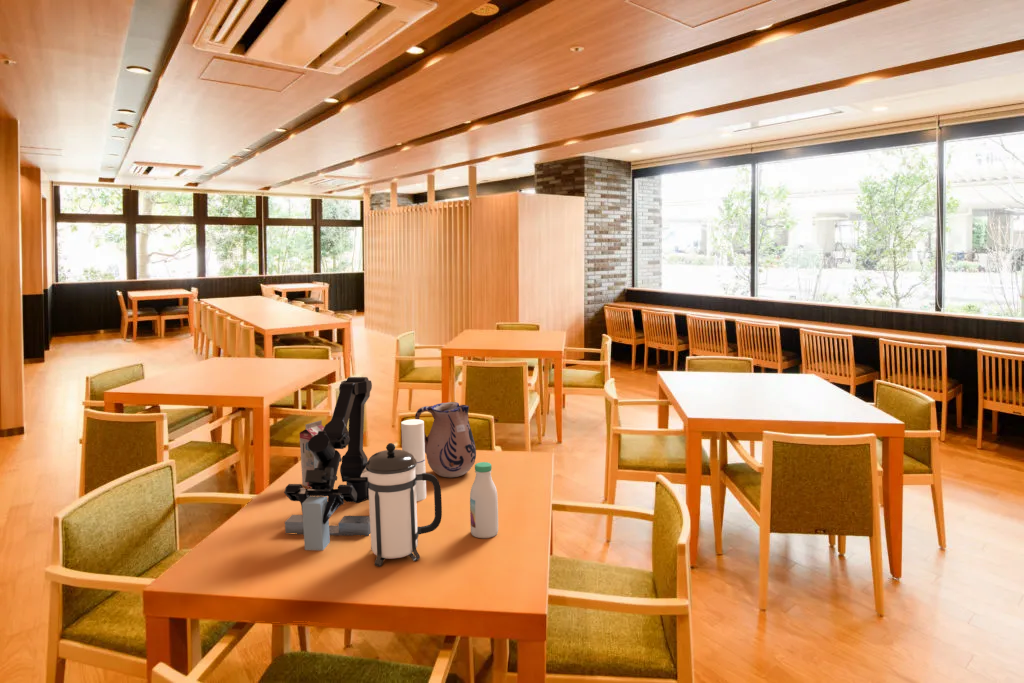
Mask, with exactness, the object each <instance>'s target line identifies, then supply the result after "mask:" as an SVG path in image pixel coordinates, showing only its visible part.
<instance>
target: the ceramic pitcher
mask: <svg viewBox="0 0 1024 683" xmlns="http://www.w3.org/2000/svg"><path fill="white" fill-rule="evenodd" d="M469 410H470V406H469V405H467V404H461V405H460V403H459V402H455V401H450V402H441V403H437V404H434V405H425V406H422V407H420V408H418V409H417V411H416V413H415V414H414V417H415V418H414V419H419V420H421V419H420V416H421V414H422V413H426V412H428V413H429V414H431V415H432V418H433V422H432V425H431V428H430V431H429V433H428V435H426V433H425V431H424V442H425V457H426V461H427V464H428V466H429V468H430V469H431V470H432V471H433V472H434V473H435V474H437V475H438V476H439V477H443V478H450V479H451V478H459V477H461V476H463V475H466V474H467V473H468V472H469V471H470V470H471V469H472V468H473V466H474V465H475V462H476V458H477V450H476V449H477V448H476V443H475V440H474V436H473V432H472V428H471V425H470V421H469Z"/></svg>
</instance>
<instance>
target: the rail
mask: <svg viewBox="0 0 1024 683" xmlns="http://www.w3.org/2000/svg"><path fill="white" fill-rule="evenodd" d="M284 530H285V533H284V534H286V533H297V534H296V535H304V528H303V516H302V514H291V515H290V516H289V517H288V518H287V519H286V520H285V521H284ZM369 534H370V535H371V533H370V515H344V516H343V517H342V518H341V519H340V520H339V521H338V525H332V524H331V525H330V524H329V535H330V536H353V535H360V536H361V535H365V536H364V537H368V536H370V535H369Z"/></svg>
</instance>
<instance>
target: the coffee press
mask: <svg viewBox="0 0 1024 683" xmlns="http://www.w3.org/2000/svg"><path fill="white" fill-rule="evenodd" d="M385 448H386V449H385V450H381V451H378V452H375V453H373V454H372V455H371V456H369V458H368V462H367V463H366V468H365V469H364V470H363V472H362V474H361V477H368V478H367V487H368V490H369V499H368V505H369V506H368V507H369V509H368V512H369V516H370V549H371V551H372V553H373V554H374V555H375V556H376V558H375V561H374V566H376V567H379V568H381V567H382V566H383V564H384V562H385V560H386V559H389V560H390V559H392V560H393V559H400V558H404V557H407V556H409V558H411V560H412V561H413V562H416V561H418V560H419V559H420V558H421V556H420V554H419V552H418V550H417V548H418V545H419V540H418V539H419V536H420V535H423V534H427V533H430V532H433V531H435V530H437V528H438V527H439V526H440V524H441V521H442V519H443V518H442V517H443V514H442V513H443V509H442V508H443V507H442V506H443V504H442V488H441V484H440V481H439V480H438V478H437V477H436V476H435V475H434V474H433V473H432V474H431V473H428V472H426V473H422V474H415V467H416V465H417V461H416V459H414V457H413V455H412V454H411V453H409V452H407V451H404V450H402V449H396V445H395V444H394V443H393V442H390V443H387V445H386V447H385ZM418 480H423V481H424V480H426V482H430V483H431V484H432V485H433V496H434V499H433V500H434V519H433V521H432V522H431V523H430V524H428V525H424V526H418V510H417V509H418V508H417V507H418V505H417V502H418V501H416V483H417V481H418Z"/></svg>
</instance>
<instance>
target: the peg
mask: <svg viewBox="0 0 1024 683" xmlns="http://www.w3.org/2000/svg"><path fill="white" fill-rule="evenodd" d="M327 503H328V496H309V497H308V498H307V499H306V500H305V501H304V502H303V503H302V507H301V513H302V512H303V528H304V534H303V541H304V542H303V543H304V544H303V545H304V550H305V551H324V550H325V549H326V548H327V546H328V545H329V544H330V542H331V540H330V539H331V538H330V536H331V535H329V525H330V518H329V519H328V521H327V522H326V523H325V524H323V517H324V513H325V510H326V507H327Z"/></svg>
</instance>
